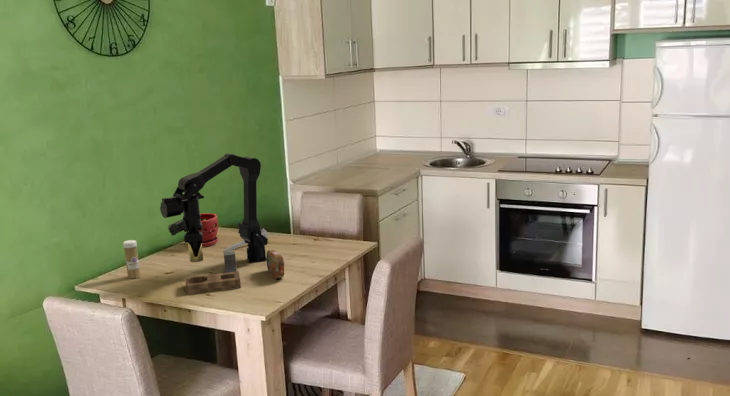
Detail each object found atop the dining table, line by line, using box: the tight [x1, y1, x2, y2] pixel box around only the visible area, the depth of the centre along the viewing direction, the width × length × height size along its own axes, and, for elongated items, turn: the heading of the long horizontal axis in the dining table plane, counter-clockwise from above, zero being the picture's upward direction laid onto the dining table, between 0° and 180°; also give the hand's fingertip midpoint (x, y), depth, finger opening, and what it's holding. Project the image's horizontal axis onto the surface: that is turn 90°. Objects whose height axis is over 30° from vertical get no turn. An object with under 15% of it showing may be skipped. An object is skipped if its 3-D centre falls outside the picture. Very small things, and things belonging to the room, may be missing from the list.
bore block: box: [185, 270, 242, 295], centre depth 233 cm, size 18×9×3 cm, turn 103°
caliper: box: [223, 227, 269, 253], centre depth 279 cm, size 20×1×6 cm, turn 129°
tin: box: [266, 249, 285, 280], centre depth 241 cm, size 15×3×8 cm, turn 23°
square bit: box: [223, 250, 238, 273], centre depth 248 cm, size 4×4×7 cm
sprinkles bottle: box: [122, 239, 141, 279], centre depth 246 cm, size 5×5×14 cm
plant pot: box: [199, 212, 219, 248], centre depth 284 cm, size 13×13×12 cm
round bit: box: [187, 243, 204, 263], centre depth 244 cm, size 5×5×7 cm
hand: (196, 254), depth 244 cm, fingers closed on round bit, 5 cm apart
